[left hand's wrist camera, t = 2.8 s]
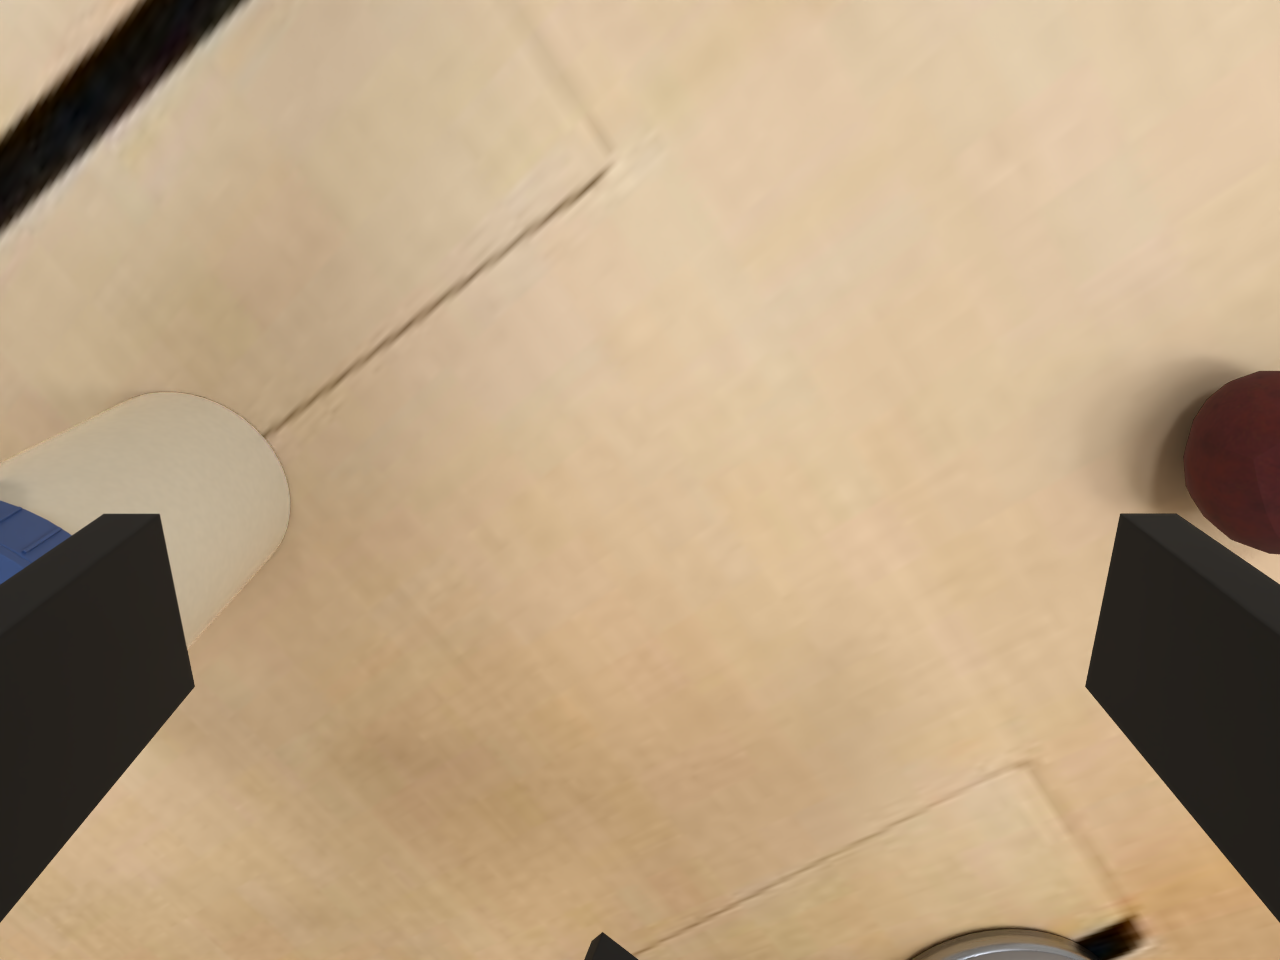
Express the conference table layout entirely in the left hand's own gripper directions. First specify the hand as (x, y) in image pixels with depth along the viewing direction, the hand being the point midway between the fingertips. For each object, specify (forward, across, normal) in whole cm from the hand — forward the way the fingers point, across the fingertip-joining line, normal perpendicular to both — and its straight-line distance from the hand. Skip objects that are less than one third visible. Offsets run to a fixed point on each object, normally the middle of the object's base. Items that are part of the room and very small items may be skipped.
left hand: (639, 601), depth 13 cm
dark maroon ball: (+28, +27, -6) cm, 39 cm away
